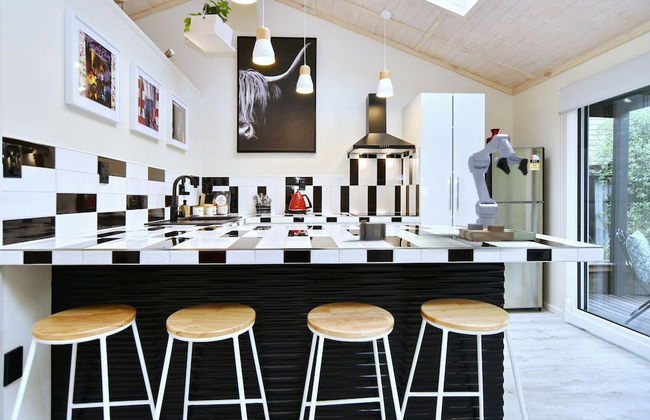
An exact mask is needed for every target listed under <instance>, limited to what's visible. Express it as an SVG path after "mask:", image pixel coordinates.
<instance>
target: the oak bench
mask: <svg viewBox="0 0 650 420" xmlns="http://www.w3.org/2000/svg"><path fill="white" fill-rule="evenodd" d="M506 230H507V229H504V232H493V231H488V229H483V230H471V229H468V228H459V229H458V238H461V237H462V239H465V238H466V239H465V240H469V241H472V240H473V242H482V241H483V242H502V241H501V240H514V232H512V231H506Z"/></svg>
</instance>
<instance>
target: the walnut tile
mask: <svg viewBox="0 0 650 420" xmlns="http://www.w3.org/2000/svg"><path fill="white" fill-rule="evenodd" d="M504 230H505V225H499V224H494V225H488V231H493V232H504Z"/></svg>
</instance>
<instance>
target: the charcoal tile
mask: <svg viewBox="0 0 650 420" xmlns="http://www.w3.org/2000/svg"><path fill="white" fill-rule="evenodd" d="M467 229H471V230H483V224H476V223H467Z"/></svg>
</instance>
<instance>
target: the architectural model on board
mask: <svg viewBox="0 0 650 420" xmlns="http://www.w3.org/2000/svg"><path fill="white" fill-rule="evenodd" d="M386 230H387V224H386V223H384V222H383V223H379V222H378V223H367V219H364V220H363V219H362V220H360V223H359V240H360V241H386V240H387V239H386V238H387V237H386V235H387V231H386ZM364 239H366V240H364Z"/></svg>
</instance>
